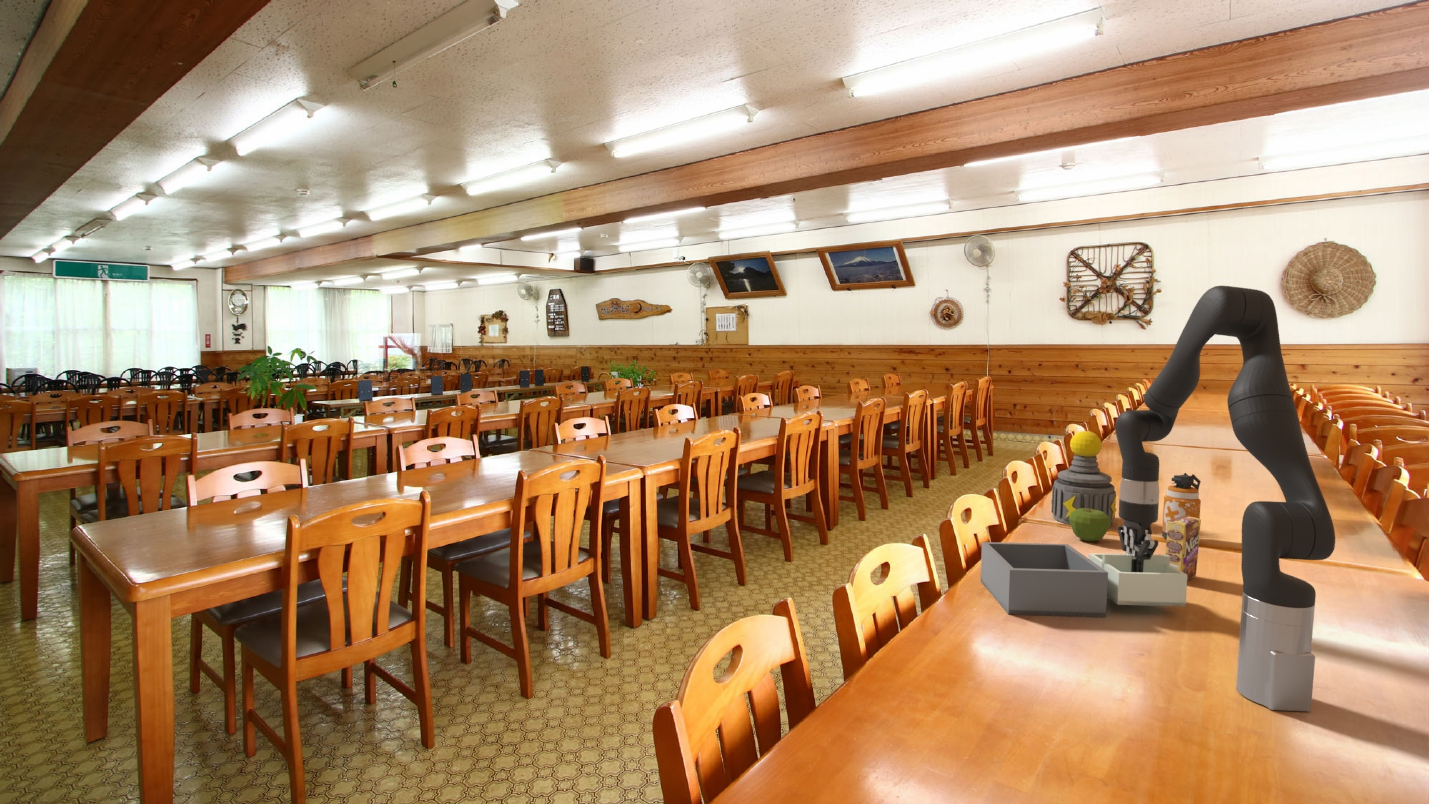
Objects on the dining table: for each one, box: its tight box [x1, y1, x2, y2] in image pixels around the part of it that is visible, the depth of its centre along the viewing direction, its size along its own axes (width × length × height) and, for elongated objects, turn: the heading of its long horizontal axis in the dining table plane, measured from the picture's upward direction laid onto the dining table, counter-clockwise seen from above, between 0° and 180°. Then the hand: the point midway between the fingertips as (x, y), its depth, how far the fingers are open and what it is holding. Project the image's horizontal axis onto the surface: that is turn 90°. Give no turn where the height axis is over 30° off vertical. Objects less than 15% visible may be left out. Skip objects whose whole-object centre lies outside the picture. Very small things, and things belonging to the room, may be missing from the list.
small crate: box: [1088, 553, 1188, 607], centre depth 153 cm, size 14×14×9 cm
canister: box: [1161, 472, 1202, 540], centre depth 201 cm, size 9×11×20 cm
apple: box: [1069, 508, 1111, 543], centre depth 201 cm, size 11×10×10 cm
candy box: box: [1164, 516, 1202, 582], centre depth 169 cm, size 9×4×15 cm, turn 123°
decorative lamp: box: [1050, 430, 1118, 526], centre depth 223 cm, size 19×19×30 cm
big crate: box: [980, 541, 1108, 618], centre depth 157 cm, size 20×20×10 cm
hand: (1135, 574), depth 153 cm, fingers closed on small crate, 1 cm apart
